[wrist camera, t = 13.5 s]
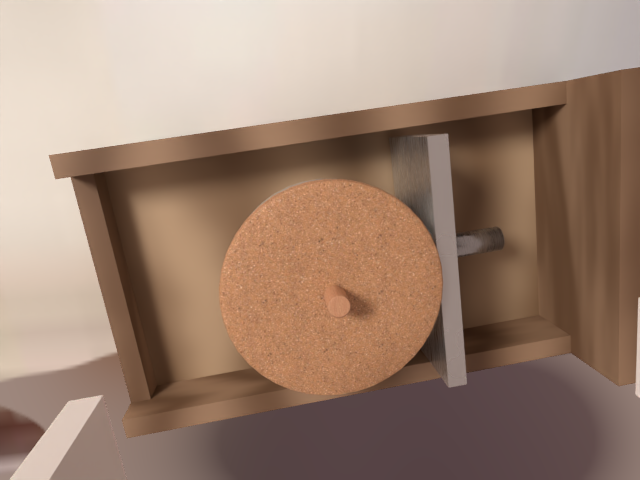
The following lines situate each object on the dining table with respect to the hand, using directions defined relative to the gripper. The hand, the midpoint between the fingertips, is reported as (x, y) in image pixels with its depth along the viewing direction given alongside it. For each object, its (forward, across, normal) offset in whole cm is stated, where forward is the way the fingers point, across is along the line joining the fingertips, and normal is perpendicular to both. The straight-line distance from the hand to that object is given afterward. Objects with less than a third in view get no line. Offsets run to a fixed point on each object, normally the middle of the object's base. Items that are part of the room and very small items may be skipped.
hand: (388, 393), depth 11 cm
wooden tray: (+19, +2, -1) cm, 19 cm away
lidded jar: (+18, 0, -1) cm, 18 cm away
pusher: (+18, +8, -1) cm, 20 cm away
